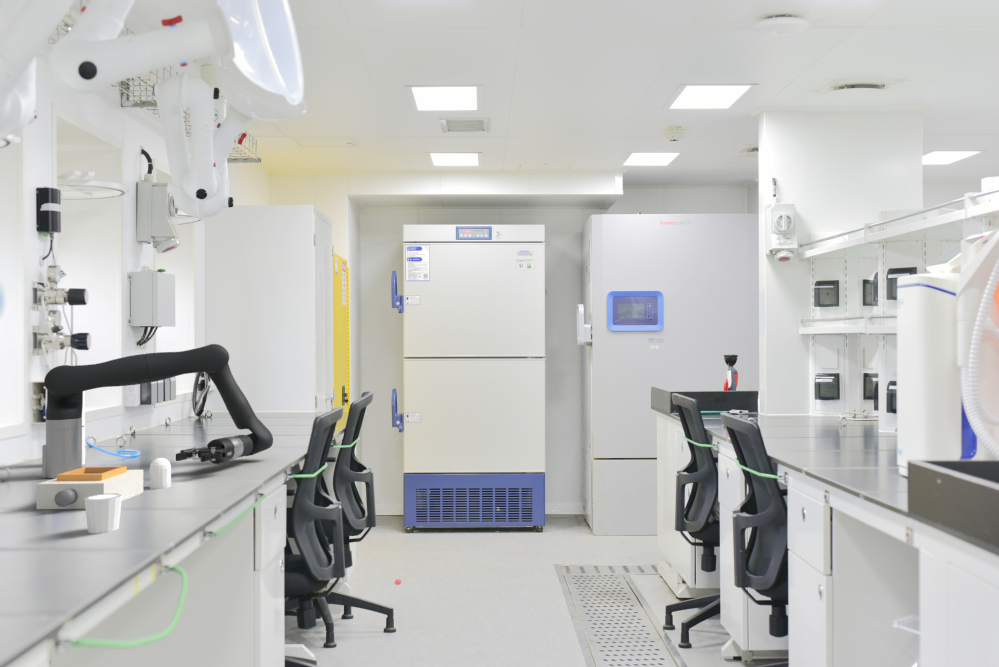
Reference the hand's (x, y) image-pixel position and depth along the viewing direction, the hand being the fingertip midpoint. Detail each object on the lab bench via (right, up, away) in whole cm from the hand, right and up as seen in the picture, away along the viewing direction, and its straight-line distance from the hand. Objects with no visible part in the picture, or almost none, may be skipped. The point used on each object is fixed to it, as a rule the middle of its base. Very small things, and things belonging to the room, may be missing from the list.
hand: (189, 457), depth 199 cm
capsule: (-3, -6, -11) cm, 13 cm away
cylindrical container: (-51, -7, +27) cm, 58 cm away
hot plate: (-12, -6, -28) cm, 31 cm away
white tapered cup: (+7, -5, -55) cm, 56 cm away
